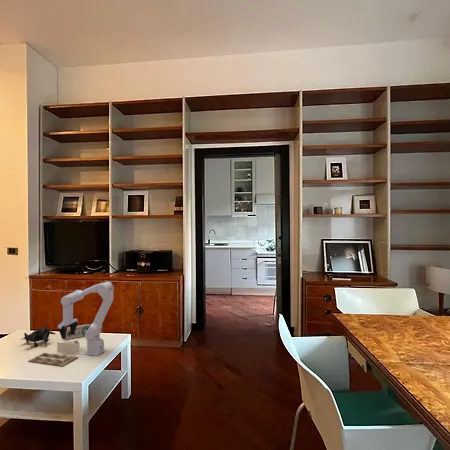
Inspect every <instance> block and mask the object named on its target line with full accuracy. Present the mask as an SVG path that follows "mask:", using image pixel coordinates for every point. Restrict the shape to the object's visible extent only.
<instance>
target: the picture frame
mask: <svg viewBox="0 0 450 450" xmlns="http://www.w3.org/2000/svg"><path fill="white" fill-rule="evenodd" d="M77 359H79V357H78V356H74V355H68V354H61V353H60V354H59V353H51V352H43V353H41V354H38V355H36V356H35V357H33V358H31V359H29V360H28V361H27V362H28V363H33V364H41V365H46V366H47V365H48V366H54V367H59V368H61V367H62V368H64V367H66V366H67V365H69V364H71V363H73V362H74V361H76V360H77Z"/></svg>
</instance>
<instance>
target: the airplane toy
mask: <svg viewBox="0 0 450 450" xmlns="http://www.w3.org/2000/svg"><path fill="white" fill-rule="evenodd" d="M43 323H44V326H42V328H41V329H37V330H33V331H32V332H31V333H29V334H28V333H26V332H24V333H23V334H24V337H23V338H21V339H20V341H23V340H25V342H26V343H27V344H29V342H32V343H33V347H34V348H38V346H39V344H38V343H37V342H41V341H44V343H47V342H49V338H50V334H51V335H56V333H55V332H54V331H51V330H52V329H49V328H48V327H47V324H46V322H45V321H44V322H43Z"/></svg>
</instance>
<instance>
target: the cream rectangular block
mask: <svg viewBox="0 0 450 450" xmlns="http://www.w3.org/2000/svg"><path fill="white" fill-rule="evenodd" d="M56 350H57V351H56V352H58V353H67V354H73V355H76V354H79V353H80V342H79V340H74V341H70V340H59V341H57V342H56Z"/></svg>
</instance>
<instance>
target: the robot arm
mask: <svg viewBox="0 0 450 450" xmlns="http://www.w3.org/2000/svg"><path fill="white" fill-rule="evenodd" d="M114 289H115V287H114V285H113V283H112V282H111V281H109V280H108V281H104V282H100V283H97V284H94V285H92V286H90V287H88V288H86V289H84V290H81V289H75V290H74V292H70V293H68V294H66V295H63V297H62V298H61V299H60V304H61V305H62V321H61V323H59V324H58V325H57V331H58V332H59V334H60V337H61V339H62V340H66V339H65V338H66V331H67V328H68V327H67V326H69V327H70V333H71V335H74V334H75V330H76V327H77V326H79V321H78V318H74V303H76V302H78V301H81V300H83V299H84V298H85V296H87V295H89V294H91V293H96V294H97V293H98V295H99V296H100V297H101V299H102V303H101V305H100V306H99V309H98V311H97V313H96V315H95V317H94V320H93V322H92V323H91V324H90V325H91V326H90V327H89V329H88V330H87V331H86V332H85V336H84V337H85V339H86V352H84V353H83V354H84V355H89V356H95V357H96V356H97V357H98V356H99V355H101V354H103V353H104V352H105V350H106V349H105V340H104V339H102V338H101V337H100V335H101V333H102V329H103V322H104V320H105V319H106V316H107V314H108V312H109V309H110V307H111V306H112V303H113V302H114Z"/></svg>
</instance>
